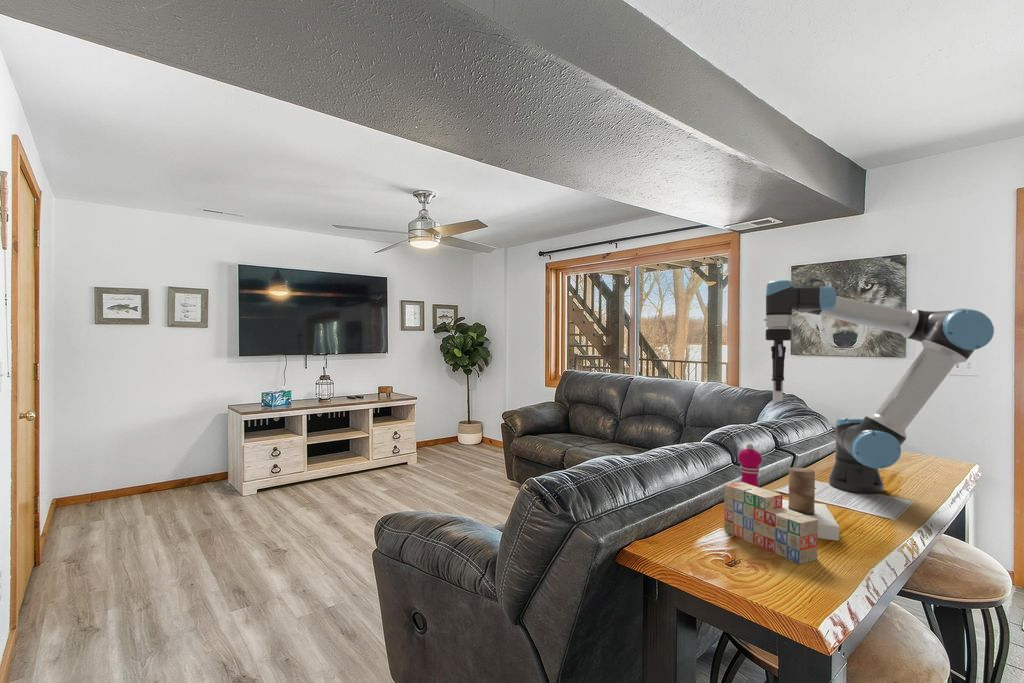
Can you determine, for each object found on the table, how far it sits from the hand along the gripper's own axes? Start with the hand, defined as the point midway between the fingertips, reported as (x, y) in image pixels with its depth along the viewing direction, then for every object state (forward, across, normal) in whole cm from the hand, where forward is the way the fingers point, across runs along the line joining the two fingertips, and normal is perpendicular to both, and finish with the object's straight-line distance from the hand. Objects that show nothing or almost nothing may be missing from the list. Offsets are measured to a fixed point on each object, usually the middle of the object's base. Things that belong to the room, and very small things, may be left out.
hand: (777, 400), depth 165 cm
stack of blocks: (+30, +49, -7) cm, 58 cm away
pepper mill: (+30, +28, -10) cm, 42 cm away
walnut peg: (+29, +31, +3) cm, 42 cm away
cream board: (+29, +31, +3) cm, 43 cm away
